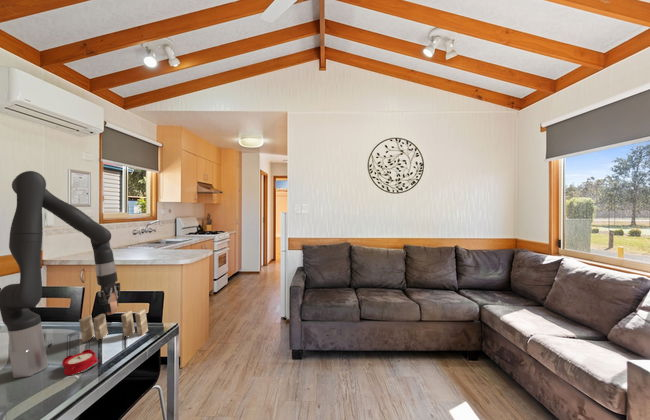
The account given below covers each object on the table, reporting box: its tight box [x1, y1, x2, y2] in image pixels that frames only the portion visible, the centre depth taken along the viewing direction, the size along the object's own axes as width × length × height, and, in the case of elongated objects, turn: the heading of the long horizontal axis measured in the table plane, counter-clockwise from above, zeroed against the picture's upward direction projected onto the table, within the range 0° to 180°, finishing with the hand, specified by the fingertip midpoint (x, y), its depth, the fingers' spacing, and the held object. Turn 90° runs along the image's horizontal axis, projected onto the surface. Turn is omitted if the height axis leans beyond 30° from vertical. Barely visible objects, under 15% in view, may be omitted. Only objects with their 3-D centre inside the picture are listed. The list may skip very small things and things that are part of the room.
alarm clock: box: [61, 349, 98, 376], centre depth 124 cm, size 10×6×15 cm
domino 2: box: [92, 313, 109, 341], centre depth 148 cm, size 2×5×10 cm, turn 2°
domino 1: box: [79, 314, 96, 343], centre depth 147 cm, size 2×5×10 cm, turn 2°
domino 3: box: [120, 310, 136, 338], centre depth 148 cm, size 2×5×10 cm, turn 2°
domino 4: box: [134, 309, 149, 337], centre depth 148 cm, size 2×5×10 cm, turn 2°
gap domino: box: [105, 293, 119, 316], centre depth 147 cm, size 2×5×10 cm, turn 3°
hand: (112, 309), depth 148 cm, fingers closed on gap domino, 5 cm apart
